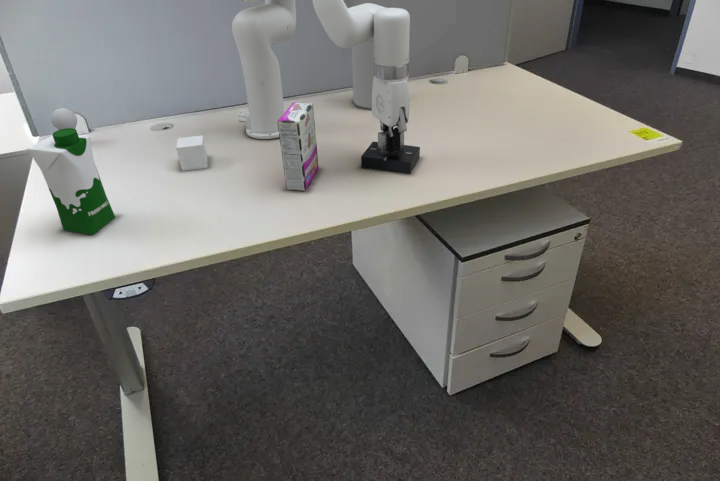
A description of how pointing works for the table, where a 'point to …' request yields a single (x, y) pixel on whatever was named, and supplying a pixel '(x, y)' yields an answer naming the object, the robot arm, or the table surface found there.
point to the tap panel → (391, 159)
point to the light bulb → (64, 119)
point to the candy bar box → (298, 145)
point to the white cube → (192, 153)
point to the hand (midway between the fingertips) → (390, 148)
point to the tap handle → (383, 142)
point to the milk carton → (73, 181)
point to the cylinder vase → (363, 74)
